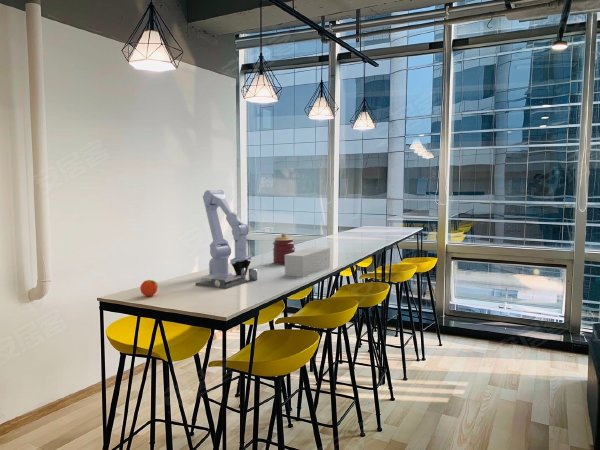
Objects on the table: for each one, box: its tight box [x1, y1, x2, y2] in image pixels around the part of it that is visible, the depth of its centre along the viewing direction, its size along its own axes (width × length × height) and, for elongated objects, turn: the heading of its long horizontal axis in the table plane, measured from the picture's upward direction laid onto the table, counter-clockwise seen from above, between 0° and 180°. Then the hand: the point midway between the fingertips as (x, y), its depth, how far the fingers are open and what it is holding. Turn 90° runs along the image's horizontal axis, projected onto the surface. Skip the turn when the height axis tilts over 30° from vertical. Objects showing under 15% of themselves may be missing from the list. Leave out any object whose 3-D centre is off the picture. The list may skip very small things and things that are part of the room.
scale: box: [195, 279, 248, 290], centre depth 225 cm, size 18×16×4 cm
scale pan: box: [201, 273, 241, 282], centre depth 225 cm, size 14×12×2 cm
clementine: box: [139, 279, 159, 297], centre depth 202 cm, size 8×7×7 cm
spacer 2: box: [248, 267, 258, 282], centre depth 232 cm, size 4×4×6 cm
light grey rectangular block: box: [284, 246, 331, 278], centre depth 254 cm, size 32×11×11 cm, turn 152°
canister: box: [272, 232, 296, 265], centre depth 280 cm, size 13×13×18 cm
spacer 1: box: [238, 267, 247, 280], centre depth 235 cm, size 4×4×6 cm
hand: (241, 276), depth 235 cm, fingers closed on spacer 1, 4 cm apart
